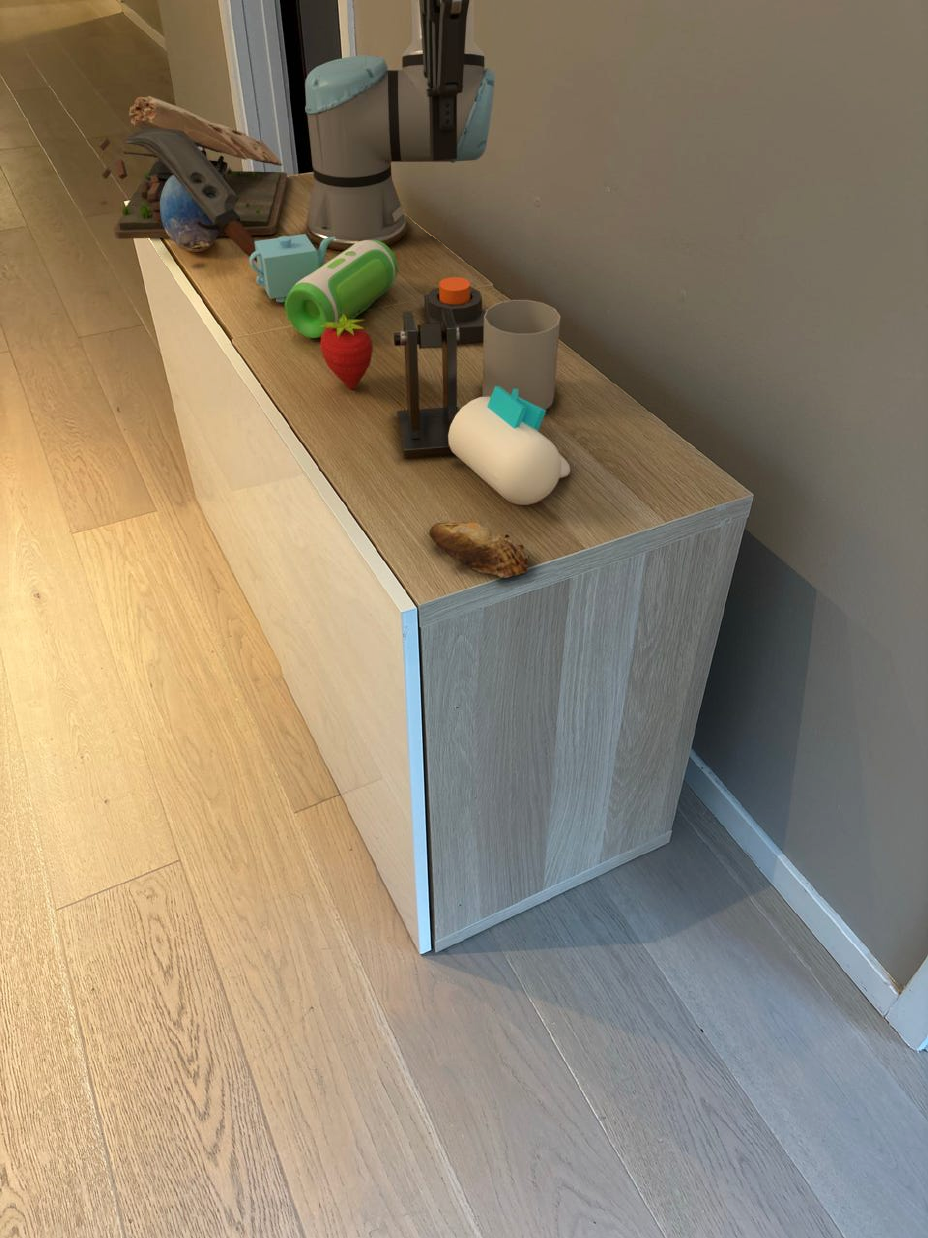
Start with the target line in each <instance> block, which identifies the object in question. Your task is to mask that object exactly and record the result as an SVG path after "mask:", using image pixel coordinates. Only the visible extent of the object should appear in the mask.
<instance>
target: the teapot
mask: <svg viewBox="0 0 928 1238" xmlns="http://www.w3.org/2000/svg"><path fill="white" fill-rule="evenodd" d="M333 239H335V237H328V238H325V239H324V240H323V241H322V242H321V244H320V245H319V247H318V250H317V248H316V247H315V246H314V244H313V243H312V242H311V239H310V238H309V236H308V235H307V234H306V233H303V234H296V235H282V236H279V237H275V238H267V239H261V240H260V239H259V240H255V242H254V243H255V249H256V251H255V252H254V253H252V255H251V256H250V257H249V259H248V260H249V261H248V262H249V264H250V267H251V268H252V270H253V271H254V272H255V273H256V274H258V275H257V276H256V278H255V281H256V284H257V285H258V286H259V287H263V288H264V290H265V292H266V294H267V296H268V297H269V299H270V300H271V299H275V301H276V302H277V303H285V300H286V297H287V295H288V294H289V292H290V290H291V289H292V288H293V287H294V285H295V284H296V283H297V282H299V281H300V280H301V279H303V278H304V277H306V276H308V275H309V274H311V273H312V272H314V271H315V270H317V269H318V268H320V267H321V266H323V265H324V264H325V259H326V252H327V246H328V244H329V243H330V242H331V241H332V240H333ZM255 257H257V262H256V263H257V266H256V264H255V261H254V259H255Z"/></svg>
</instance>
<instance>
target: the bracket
mask: <svg viewBox="0 0 928 1238" xmlns="http://www.w3.org/2000/svg"><path fill="white" fill-rule="evenodd" d="M402 324H403V325H402V327H403V330H399V333H400V342H401V345H404V346H403V347H404V369H405V371H404V372H405V389H406V391H405V392H406V409H400V410H397V412H396V413H397V414H396V415H397V423H398V429H399V436H400V441H401V447H402V453H403V459H406V460H407V459H422V458H433V457H435V458H436V457H445V456H446V457H447V456H456V455H455V454H454V453H453V452H452V450H451V448H450V446H449V439H448V434H449V430H450V425H451V424H452V422H453V420H454V418H455V416H456V414H457V413H458V412H459V411H460V410H461V409H460V407H459V406H458V343H457V341H459V340H460V333H459V328H458V327H456V324H455V321H454V317H453V314H452V310H451V308H450V309H442V346H443V347H441V357H442V358H441V360H442V361H441V363H442V365H441V366H442V367H441V369H442V371H441V372H442V407H430V408H429V407H428V408H420V386H419V385H420V384H419V357H418V356H419V355H418V345H417V332H418V329H417V325H416V321H415V316H414V313H413V310H405V311H402Z"/></svg>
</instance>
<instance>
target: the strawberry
mask: <svg viewBox="0 0 928 1238" xmlns="http://www.w3.org/2000/svg"><path fill="white" fill-rule="evenodd" d="M335 309H336V308H335ZM336 310H337V309H336ZM337 311H339V310H337ZM339 312H340V311H339ZM340 313H341V312H340ZM341 314H342V313H341ZM342 315H343V316H342V317H341V318H340V319H339V321H340V322H338V323H335V322H334V323H332V322H325V324H324V325H319V326H318V327H323V328H326V330H325V331H324V332H323V334H322V336H321V337H320V351H321V355H322V357H323V359H324V361H325V364H326V365H327V367H328V369H329V370H331V372H332V373H333V374H334V375H335V377H336V378H337V379H338V380H340V381H341V382H342V383H343V384H344V385H345V387H346V388H347V389H351V390H353V389H356V387H357V386H358V384H359V383H360V381H361V380H362V379H363V377H364V376H365V374H366V372H367V370H368V369H369V366H370V365H371V360H372V356H373V351H374V347H373V341H372V338H371V336H370V334H369V333H368V332H367V331H366V329H365V327H363V326H361V325H359V324H360V323H361V322H364V321H365V319H353V320H347V318H346V317H345V315H344V314H342Z"/></svg>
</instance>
